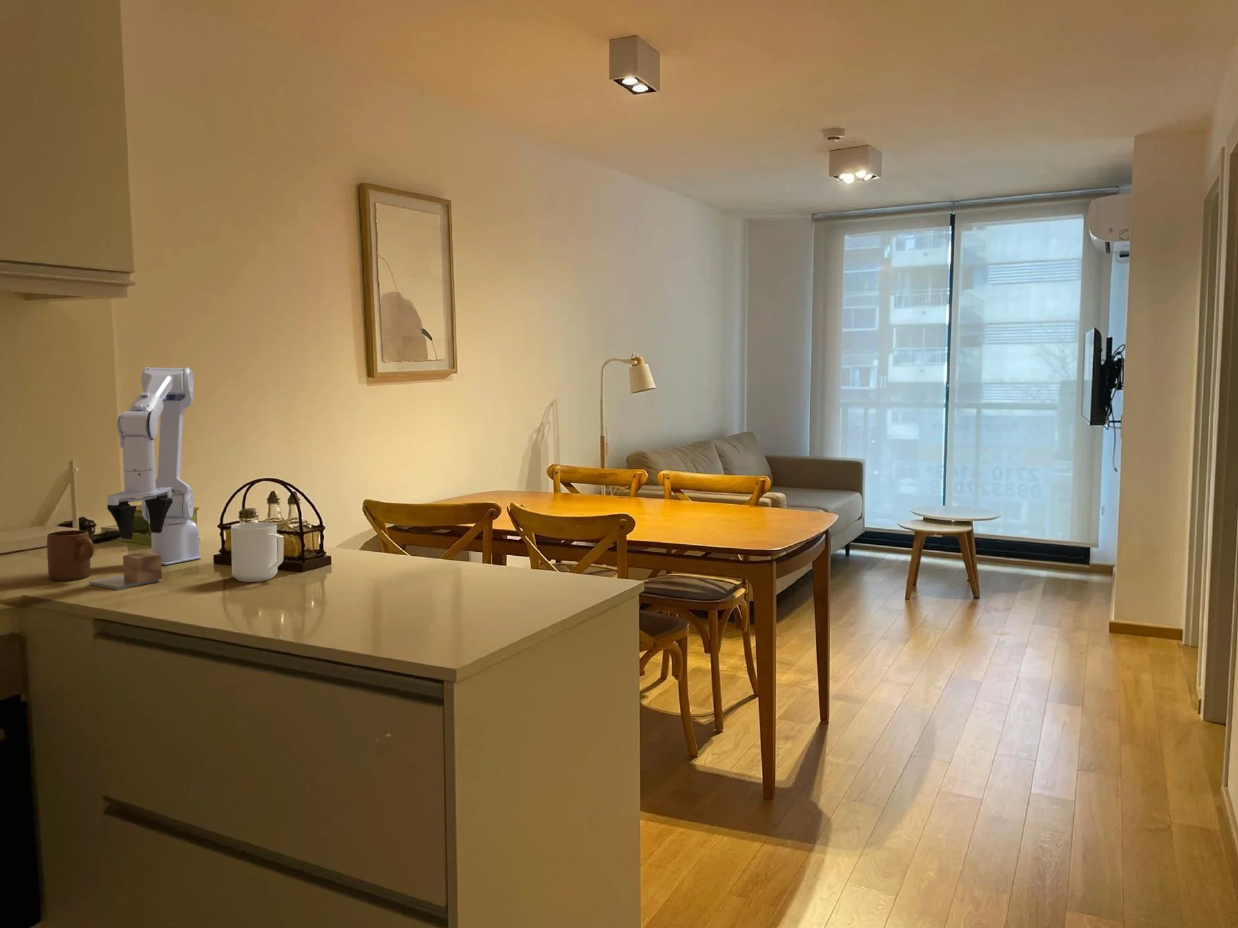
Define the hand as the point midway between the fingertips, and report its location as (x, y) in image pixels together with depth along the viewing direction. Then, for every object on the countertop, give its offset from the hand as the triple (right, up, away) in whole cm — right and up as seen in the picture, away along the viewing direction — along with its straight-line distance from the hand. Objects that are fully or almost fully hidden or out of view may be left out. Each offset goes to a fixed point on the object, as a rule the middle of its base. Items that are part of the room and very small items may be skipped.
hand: (142, 535), depth 190 cm
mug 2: (+23, -10, +4) cm, 25 cm away
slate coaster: (-3, -10, -2) cm, 10 cm away
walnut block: (+1, -9, -1) cm, 9 cm away
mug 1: (-14, -9, +2) cm, 17 cm away
